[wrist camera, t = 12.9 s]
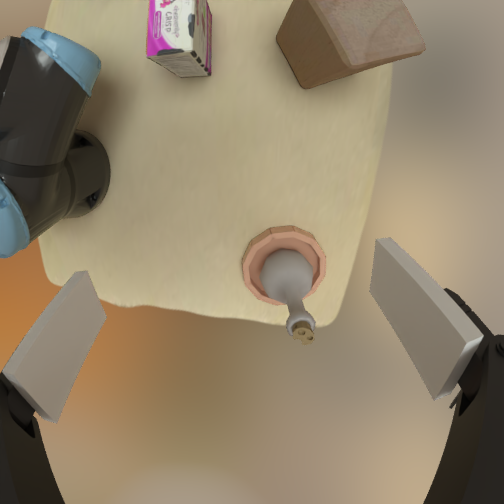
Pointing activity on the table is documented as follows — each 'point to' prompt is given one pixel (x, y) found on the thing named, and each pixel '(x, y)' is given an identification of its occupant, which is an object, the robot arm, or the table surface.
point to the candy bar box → (180, 36)
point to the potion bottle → (290, 289)
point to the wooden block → (345, 37)
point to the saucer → (274, 241)
